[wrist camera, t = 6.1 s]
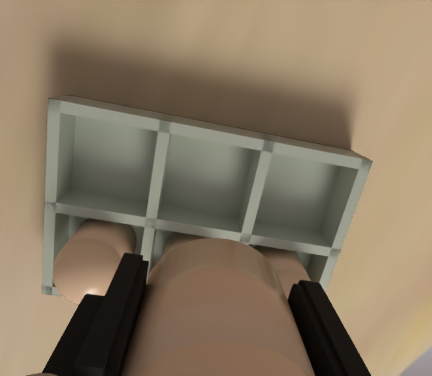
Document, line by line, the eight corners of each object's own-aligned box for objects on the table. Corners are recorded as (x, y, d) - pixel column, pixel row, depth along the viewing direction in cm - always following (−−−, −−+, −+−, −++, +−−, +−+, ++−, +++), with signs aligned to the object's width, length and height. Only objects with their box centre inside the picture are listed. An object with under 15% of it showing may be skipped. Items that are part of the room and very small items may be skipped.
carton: (60, 268, 26) (13, 331, 20) (69, 95, 22) (14, 103, 16) (300, 303, 28) (328, 370, 22) (351, 150, 24) (405, 177, 18)
